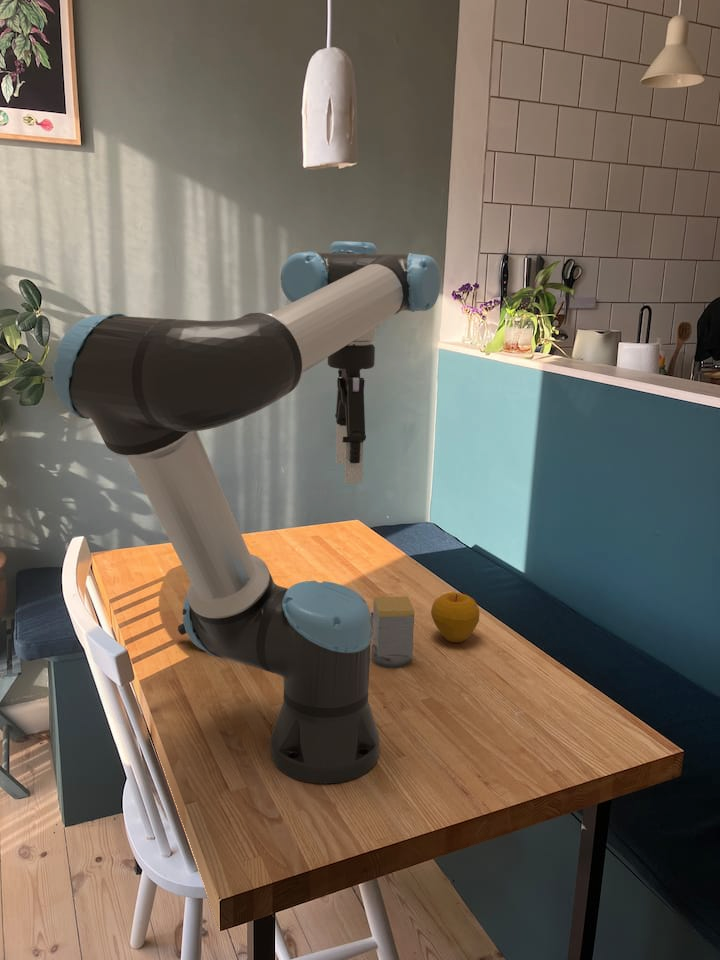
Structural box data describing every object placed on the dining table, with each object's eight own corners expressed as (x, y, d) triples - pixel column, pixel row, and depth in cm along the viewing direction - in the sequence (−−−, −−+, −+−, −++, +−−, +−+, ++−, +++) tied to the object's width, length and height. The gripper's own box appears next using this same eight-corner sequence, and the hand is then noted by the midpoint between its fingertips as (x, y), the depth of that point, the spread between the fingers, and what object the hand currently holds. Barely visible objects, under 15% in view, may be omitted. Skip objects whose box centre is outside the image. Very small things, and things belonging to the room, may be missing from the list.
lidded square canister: (412, 655, 137) (414, 610, 135) (377, 656, 136) (379, 611, 134) (405, 639, 143) (407, 596, 141) (372, 641, 142) (373, 597, 140)
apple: (420, 633, 150) (422, 588, 148) (459, 625, 154) (462, 581, 152) (446, 654, 142) (449, 606, 140) (488, 644, 146) (491, 598, 144)
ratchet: (415, 667, 137) (416, 629, 135) (374, 668, 136) (375, 630, 134) (395, 621, 155) (397, 587, 153) (359, 622, 154) (361, 588, 152)
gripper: (387, 350, 117) (382, 491, 122) (364, 336, 141) (360, 455, 146) (336, 349, 116) (333, 491, 121) (321, 336, 140) (319, 455, 145)
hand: (348, 472), depth 134 cm, fingers open, 13 cm apart
